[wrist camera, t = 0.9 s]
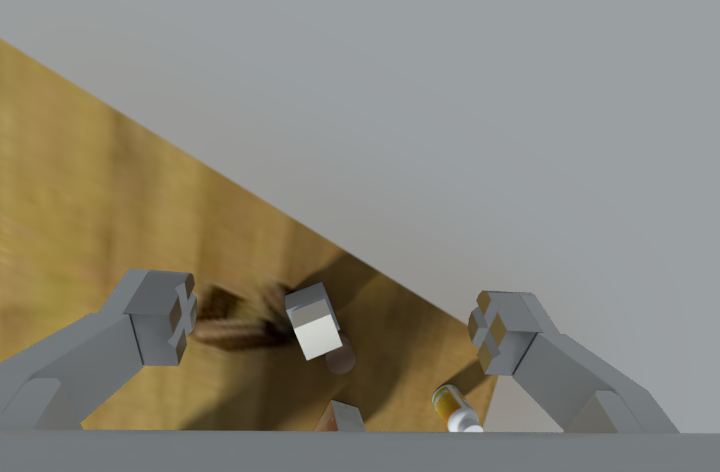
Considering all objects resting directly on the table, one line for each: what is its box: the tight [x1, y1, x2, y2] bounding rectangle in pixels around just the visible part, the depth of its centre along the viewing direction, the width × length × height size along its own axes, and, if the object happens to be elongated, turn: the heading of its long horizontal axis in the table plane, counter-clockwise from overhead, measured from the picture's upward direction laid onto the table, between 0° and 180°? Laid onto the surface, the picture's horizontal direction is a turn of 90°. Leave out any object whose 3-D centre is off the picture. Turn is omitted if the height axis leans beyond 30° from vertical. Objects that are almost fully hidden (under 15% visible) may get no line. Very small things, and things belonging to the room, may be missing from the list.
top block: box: [291, 299, 343, 360], centre depth 52 cm, size 5×5×5 cm
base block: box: [285, 282, 340, 331], centre depth 56 cm, size 6×6×5 cm
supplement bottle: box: [432, 385, 483, 432], centre depth 65 cm, size 5×5×10 cm
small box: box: [313, 400, 366, 432], centre depth 60 cm, size 8×6×10 cm
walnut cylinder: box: [324, 331, 356, 374], centre depth 59 cm, size 4×4×5 cm
